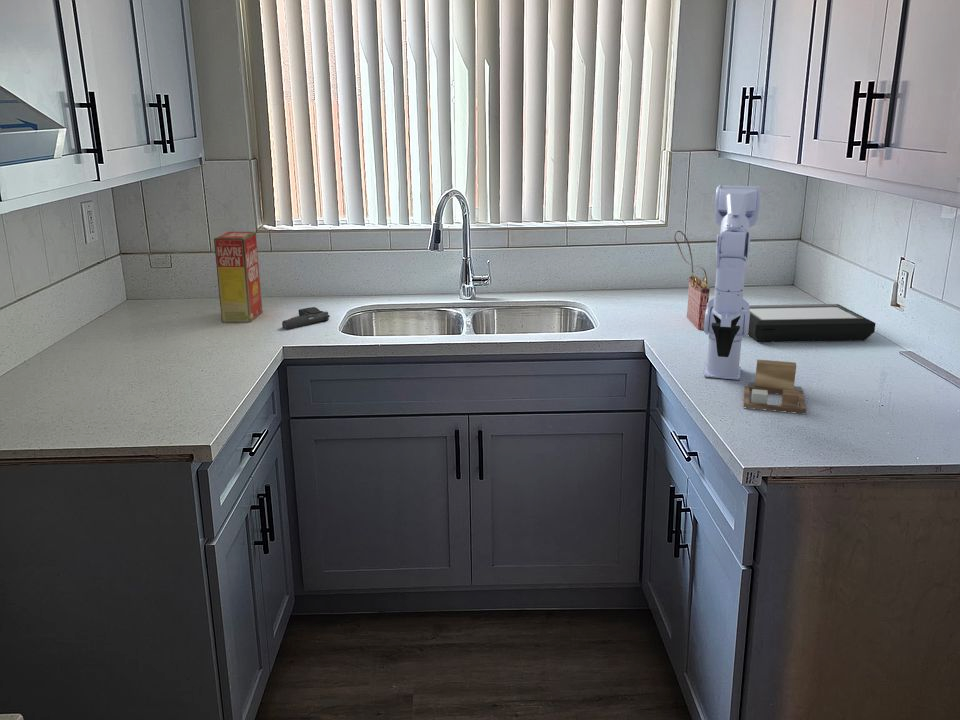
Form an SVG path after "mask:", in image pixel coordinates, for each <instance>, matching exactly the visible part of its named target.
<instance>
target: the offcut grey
mask: <svg viewBox="0 0 960 720" xmlns="http://www.w3.org/2000/svg"><path fill="white" fill-rule="evenodd" d="M768 398H769V393H768V392H767V390H757V389H752V392H751V400H750V403H758V404H768Z"/></svg>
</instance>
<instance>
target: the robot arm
mask: <svg viewBox="0 0 960 720" xmlns="http://www.w3.org/2000/svg"><path fill="white" fill-rule="evenodd" d="M761 192H762V188H761V186H760V185H756V186H755V185H722V184H718V186H717V187H716V191H715V201H714V203H715V204H714V210H715V213H714V219H715V224H717V225H719V226H720V231H719V233H717V236H716V244H715V246H716V247H715V257H716V259H715V260H716V262H715V263H716V264H715V267H716V269H715V270H716V271H715V284H714V293H713V294H714V296H713V297H712V298H710V299H709V301H708V303H707V308H706V312H705V321H704V330H703V332H704V334H705V335H708V346H707V349H708V350H707V358H706V359H707V361H706V363H705V367H704V373H703V377H705V378H713V379H726V380H738V381H739V380H740V379H741V366H740V360H741V351H742V349H741V348H742V341H743V338H746V337H747V336H748V330H749V319H750V312H749V311H750V306H749V305H750V303H749V302H748V301H747V300H745V299H744V290H745V289H744V288H745V277H746V266H747V265H746V264H747V260H748V259H749V257H750V256H749V255H750V248H751V247H750V246H751V233H750V230H749V229H750V228H752V227H754V226H755V225H757V221H758V219H759V218H758V217H759V212H760V207H761V196H762V195H761Z"/></svg>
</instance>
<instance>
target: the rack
mask: <svg viewBox="0 0 960 720" xmlns="http://www.w3.org/2000/svg"><path fill="white" fill-rule="evenodd" d="M743 388H744V389H743V408H744V407H746V408H755V409H754V410H756V409H766V410H776V411H786V412H796V413H806V414H807V408H806V402H805V396H804V392H803V390H802V391H801V390H795V391H799V400H798V402H799V403H798V407H789V406H781V405H777V404H768V403H767V404H758V403H751V402H750V392H749V391H752V389H757V390H767V392H768V394H769V393H778V394H777V395H780V394H783V389H778V388H767V387H756V386H749V385H744V387H743ZM784 390H790V389H784ZM766 410H765V411H766ZM776 411H775V412H776ZM786 412H785V413H786ZM796 413H795V414H796Z"/></svg>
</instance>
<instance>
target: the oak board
mask: <svg viewBox="0 0 960 720" xmlns="http://www.w3.org/2000/svg"><path fill="white" fill-rule="evenodd" d="M796 371H797V363H796V362H793V361H783V360H782V361H779V360H771V359H770V360H767V359H756V370H755V379H754V383H755V386H756V387H767V388H778V389H790V390H794V386H795V383H796V382H795V380H796Z"/></svg>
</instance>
